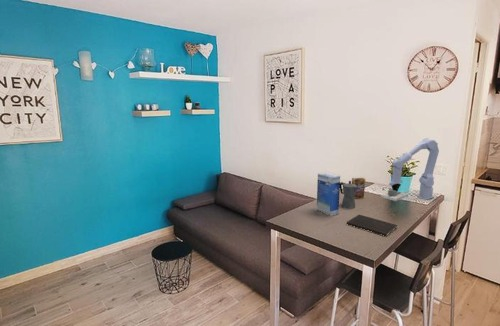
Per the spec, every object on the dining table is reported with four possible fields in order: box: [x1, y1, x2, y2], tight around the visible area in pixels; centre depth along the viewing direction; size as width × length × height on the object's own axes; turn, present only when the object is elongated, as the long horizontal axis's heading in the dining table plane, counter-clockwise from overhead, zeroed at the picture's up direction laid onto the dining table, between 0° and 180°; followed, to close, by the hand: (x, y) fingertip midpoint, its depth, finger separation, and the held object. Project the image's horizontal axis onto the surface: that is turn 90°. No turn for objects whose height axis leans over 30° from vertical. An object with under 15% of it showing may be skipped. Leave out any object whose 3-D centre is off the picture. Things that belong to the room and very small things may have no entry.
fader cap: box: [387, 189, 399, 196], centre depth 216 cm, size 4×5×4 cm
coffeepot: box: [340, 180, 358, 209], centre depth 201 cm, size 15×9×18 cm, turn 33°
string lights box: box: [316, 171, 341, 217], centre depth 188 cm, size 13×8×26 cm, turn 32°
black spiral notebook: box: [346, 214, 399, 237], centre depth 168 cm, size 16×23×2 cm
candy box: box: [351, 177, 366, 199], centre depth 217 cm, size 9×4×15 cm, turn 98°
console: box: [380, 191, 408, 202], centre depth 218 cm, size 17×11×2 cm, turn 125°
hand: (394, 193), depth 218 cm, fingers closed
